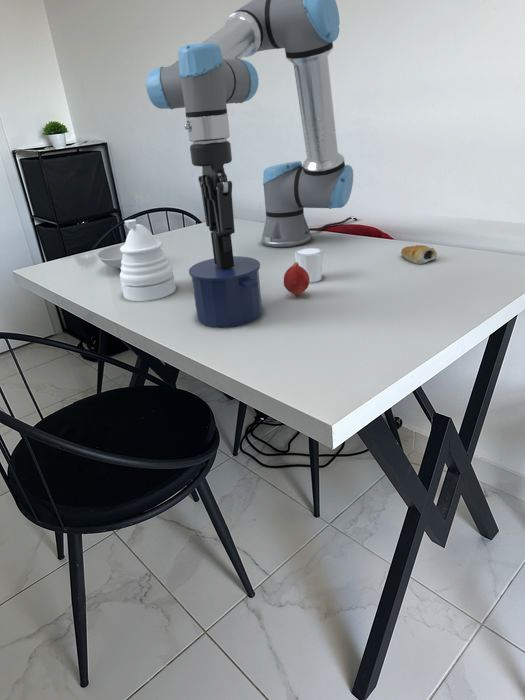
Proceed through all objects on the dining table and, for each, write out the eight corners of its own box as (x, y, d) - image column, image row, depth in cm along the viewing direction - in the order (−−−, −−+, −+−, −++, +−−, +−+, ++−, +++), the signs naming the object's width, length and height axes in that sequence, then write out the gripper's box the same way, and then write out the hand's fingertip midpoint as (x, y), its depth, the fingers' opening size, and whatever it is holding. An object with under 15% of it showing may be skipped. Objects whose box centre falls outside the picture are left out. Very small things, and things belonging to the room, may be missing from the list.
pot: (230, 296, 119) (226, 254, 115) (282, 317, 106) (279, 270, 101) (180, 312, 112) (173, 269, 108) (228, 337, 98) (222, 288, 94)
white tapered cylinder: (305, 285, 122) (304, 256, 119) (291, 278, 128) (289, 250, 124) (329, 279, 125) (328, 251, 121) (314, 272, 130) (313, 245, 127)
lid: (233, 257, 114) (229, 218, 110) (275, 270, 103) (271, 227, 99) (176, 274, 106) (169, 232, 102) (214, 289, 96) (208, 243, 92)
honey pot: (150, 304, 119) (136, 226, 111) (112, 297, 125) (96, 223, 118) (186, 286, 128) (175, 214, 121) (148, 280, 135) (136, 212, 127)
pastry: (394, 257, 136) (395, 243, 134) (413, 252, 139) (414, 238, 137) (419, 265, 129) (420, 250, 127) (439, 260, 131) (440, 245, 130)
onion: (280, 299, 115) (277, 264, 112) (291, 290, 120) (289, 257, 116) (303, 301, 112) (302, 266, 109) (314, 292, 117) (312, 258, 113)
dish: (149, 273, 141) (145, 255, 139) (95, 280, 140) (91, 262, 137) (150, 256, 157) (148, 240, 155) (103, 262, 155) (99, 246, 153)
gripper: (179, 142, 99) (195, 259, 110) (202, 145, 86) (219, 279, 96) (215, 138, 102) (228, 253, 112) (244, 140, 88) (256, 271, 99)
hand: (224, 264), depth 104 cm, fingers closed on lid, 3 cm apart
